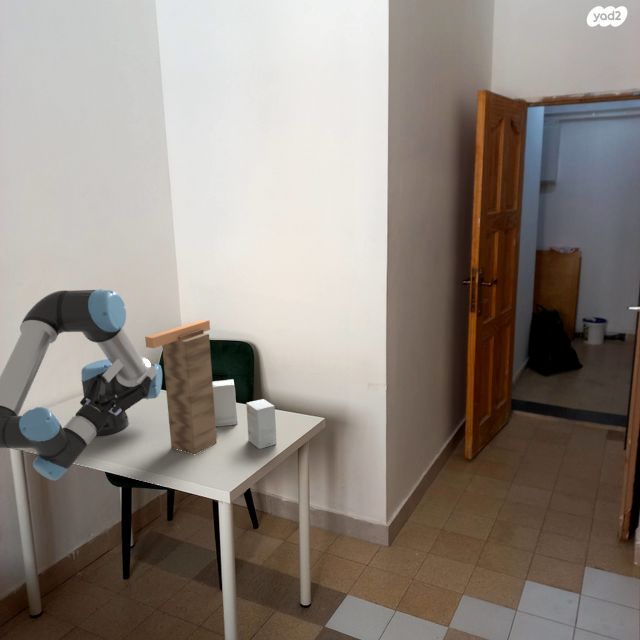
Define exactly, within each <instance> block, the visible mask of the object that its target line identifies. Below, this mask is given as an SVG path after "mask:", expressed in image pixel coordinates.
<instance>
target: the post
mask: <svg viewBox="0 0 640 640" xmlns="http://www.w3.org/2000/svg"><path fill="white" fill-rule="evenodd" d="M178 338H179V340H177V341H174V342H171V343H168V344H165V345H162V346H161V347H162V357H163V371H164V379H165V390H166V400H167V412H168V413H167V415H168V422H169V423H168V424H169V434H170V435H169V437H170V447H171V449H172V448H174V449H173V450H176V449H178V450H177V451H179V450H182V451H181V452H183V451H186V452H189V453H188V454H190V453H192V454H191V455H194V454H196V455H198V454H199V452H200V451H201V452H203V451H204V449H205V450H206V448H207V449H209V448H210V447H212V446H213V444H214V445H215V444H217V443H218V442H217V430H216V429H217V427H216V425H215V411H214V397H213V383H212V382H213V371H212V359H211V358H212V357H211V344H210V334H209V333H205V332H203V329H201V330H198V331H194V332H191V333H188V334H185V335H182V336H179V337H178ZM211 445H212V446H211ZM209 446H210V447H209ZM202 450H203V451H202ZM186 452H185V453H186ZM201 452H200V453H201ZM197 453H198V454H197Z"/></svg>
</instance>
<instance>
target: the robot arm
mask: <svg viewBox="0 0 640 640" xmlns="http://www.w3.org/2000/svg"><path fill="white" fill-rule="evenodd" d="M125 306H126V305H125V302H124V299H123V298H122V297H121V295H120V294H119V293H118V292H116V291H115V290H110V289H109V290H108V289H83V290H82V289H81V290H80V289H79V290H66V289H65V290H58V291H54V292H51V293H49V294H48V295H46V296H44V297H42V299H41V298H40V300H38V302H36V303H35V304H34V305H33V306H32V307H31V308H30V310H28V312H27V313H26V314H25V316H24V317H23V319H22V321H21V323H20V325H19V331H20V335H19V337H18V339H17V341H16V344H15V345H14V348H13V349H12V352H11V354H10V356H9V357H8V360H7V363H6V364H5V365H4V368H3V370H2V372H1V375H0V449H33V450H34V451H35V452H36V453H37V455H36V456H35V458H34V460H33V461H32V467H33V469H34V470H35V471H36V472H37V473H38V474H39V475H41V476H43V477H44V478H45V479H48V480H50V481H58V480H59V479H60V478H61V477H62V476H63V475H64V474H65V473H66V472H67V471H69V470H70V468H71V466H72V465H73V464H74V462H75V461H77V459H78V458H79V457H80V455H81V454H82V453H83V451H85V449H86V448H87V446H88V445H89V444H90V443H91V442H92V440H93V439H94V438H95V437H96V436H107V435H112V434H115V433H118V432H120V431H123V430H125V429H126V428H127V427H128V426H129V415H127V412H126V411H127V410H128V409H131V408H132V407H133V406H134V405H136V404H137V403H138V402H140V401H142V400H144V399H145V400H151V399H156V398H157V397H159V395H160V393H161V390H162V385H163V369H162V366H161V365H160V364H157V363H153V364H152V363H151V362H150V360H148V359H147V358H146V357H144V356H143V355H141V354H140V353H139V351H138V350H137V348H136V347H135V345H134V344H133V342H132V340H131V339H130V337H129V335H128V334H127V332H126V331H125V329H124V325H126V324H125V323H126V319H127V311H126V308H125ZM63 333H82V334H83V335H84V337H85V338H86V339H87V340H88V341H89V342H92V343H96V344H97V346H98V347H99V348H100V350H101V351H102V352H103V354H104V355H105V356H106V359H101V360H97V361H93V362H90V363H89V364H86V365H85V366H83V367H82V369H81V385H82V392H83V398H82V399H81V400H80V402H79V404H80V405H81V407H80V409H78V410H77V412H76V413H75V415H74V416H71V418H70V420H69V421H68V422H66V424H65V425H64V426H63V427H62V425H61V423H60V421H59V420H58V418H57V416H55V415H54V413H53V412H52V411H51V410H50V409H48V408H46V407H42V406H38V407H34V408H33V409H28V410H27V411H26V412H25V413H23V414H22V415H20V413H21V410H22V408H23V405H24V404H25V401H26V399H27V396H28V394H29V392H30V390H31V387H32V385H33V383H34V381H35V378H36V376H37V374H38V372H39V369H40V367H41V365H42V363H43V361H44V359H45V357H46V356H45V355H46V353H47V352H48V348H49V346H50V344H53V343H54V342H55V341H56V340H57V339H58V336H59V335H60V334H63Z"/></svg>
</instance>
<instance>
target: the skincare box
mask: <svg viewBox="0 0 640 640" xmlns="http://www.w3.org/2000/svg"><path fill="white" fill-rule="evenodd" d="M234 381H235V380H234V379H233V378H232V379H226V380H225V379H224V380H215V381H212V383H213V397H214V411H215V425H216V426H217V427H223V426H232V425H233V426H234V425H238V423H239V422H238V410H237V409H238V408H237V401H236V388H235V382H234Z"/></svg>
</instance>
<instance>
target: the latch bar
mask: <svg viewBox="0 0 640 640" xmlns="http://www.w3.org/2000/svg"><path fill="white" fill-rule="evenodd" d="M210 325H211V324H210V320H208V319H200V320H196V321H193V322H190V323H187V324H183V325H180V326H177V327H173V328H171V329H167V330H164V331H163V330H162V331H160V332H157V333H153V334H150V335H147V336H145V337H144V338H145V348H150V349H155V348H158V347H162V345H165V344H168V343H171V342H174V341H177V340H179V338H178V337H179V336H182V335H185V334H188V333H191V332H194V331H198V330H201V329H203V332H204V333H205V332H208V331H210V330H211V326H210Z"/></svg>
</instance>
